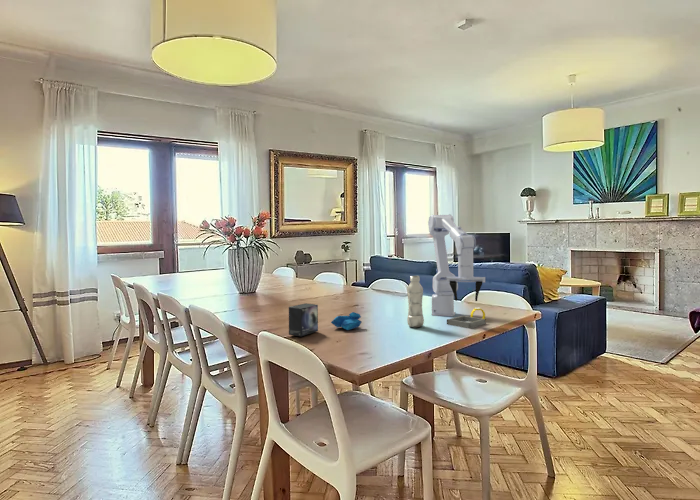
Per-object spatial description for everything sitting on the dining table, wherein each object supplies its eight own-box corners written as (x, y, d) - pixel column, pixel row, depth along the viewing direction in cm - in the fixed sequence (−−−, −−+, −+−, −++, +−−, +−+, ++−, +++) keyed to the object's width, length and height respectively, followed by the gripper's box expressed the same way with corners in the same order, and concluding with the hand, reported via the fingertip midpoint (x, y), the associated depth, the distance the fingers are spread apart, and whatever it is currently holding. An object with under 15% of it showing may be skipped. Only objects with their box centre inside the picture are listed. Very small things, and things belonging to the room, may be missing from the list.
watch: (482, 321, 179) (482, 306, 179) (486, 322, 176) (486, 307, 176) (469, 322, 178) (469, 307, 178) (473, 323, 175) (473, 308, 175)
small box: (301, 337, 158) (301, 308, 157) (288, 335, 161) (287, 306, 161) (319, 331, 167) (318, 304, 166) (305, 329, 170) (305, 302, 170)
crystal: (358, 306, 175) (330, 308, 170) (366, 318, 167) (336, 320, 163) (356, 321, 178) (328, 324, 173) (363, 334, 170) (334, 337, 166)
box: (470, 329, 164) (470, 323, 164) (446, 325, 172) (446, 319, 172) (485, 325, 171) (485, 319, 171) (462, 321, 179) (462, 315, 179)
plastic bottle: (425, 325, 172) (424, 275, 172) (422, 329, 166) (421, 277, 165) (409, 325, 174) (408, 275, 174) (405, 328, 168) (404, 276, 167)
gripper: (445, 266, 169) (446, 301, 170) (484, 266, 165) (485, 302, 165) (447, 265, 176) (448, 298, 176) (485, 265, 171) (485, 299, 172)
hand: (466, 300), depth 171 cm, fingers open, 7 cm apart
